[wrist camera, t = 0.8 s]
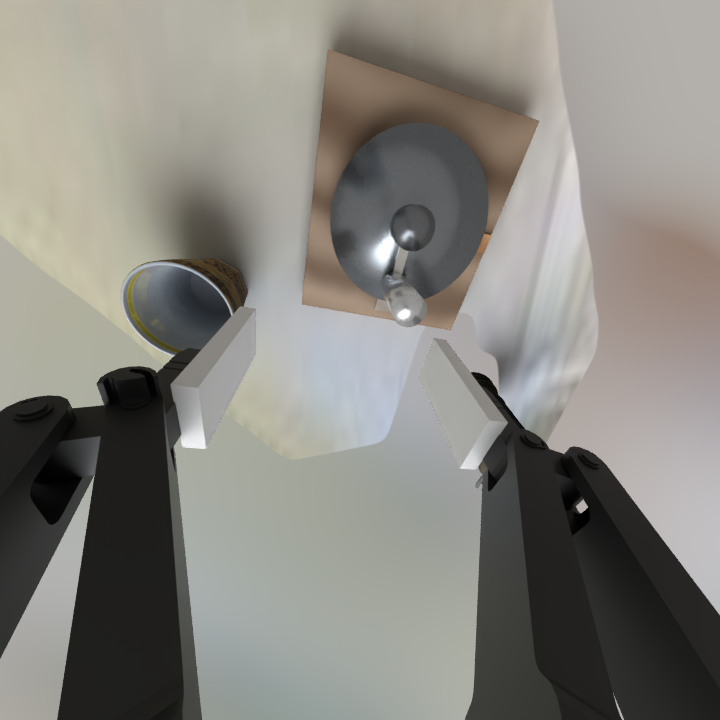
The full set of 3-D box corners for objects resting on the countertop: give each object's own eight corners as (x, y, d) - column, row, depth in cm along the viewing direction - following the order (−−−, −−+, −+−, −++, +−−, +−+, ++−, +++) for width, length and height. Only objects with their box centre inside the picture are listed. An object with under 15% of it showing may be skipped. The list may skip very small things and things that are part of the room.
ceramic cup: (160, 251, 31) (93, 272, 23) (243, 236, 31) (207, 251, 22) (210, 346, 38) (173, 389, 30) (278, 334, 38) (261, 374, 29)
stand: (329, 64, 24) (327, 47, 21) (520, 128, 27) (541, 120, 25) (304, 296, 35) (301, 305, 32) (443, 321, 38) (451, 331, 36)
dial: (345, 104, 23) (350, 50, 15) (506, 154, 26) (589, 133, 17) (321, 284, 31) (314, 316, 23) (446, 307, 34) (482, 344, 25)
